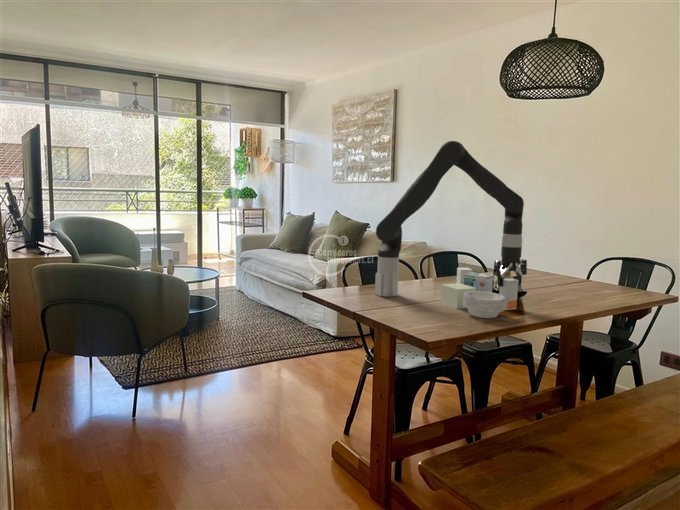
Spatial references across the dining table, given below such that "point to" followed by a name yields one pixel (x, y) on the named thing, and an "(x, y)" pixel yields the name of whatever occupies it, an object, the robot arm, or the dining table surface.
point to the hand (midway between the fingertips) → (509, 285)
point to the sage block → (454, 294)
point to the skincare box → (509, 293)
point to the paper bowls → (484, 304)
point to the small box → (462, 274)
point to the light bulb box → (479, 281)
